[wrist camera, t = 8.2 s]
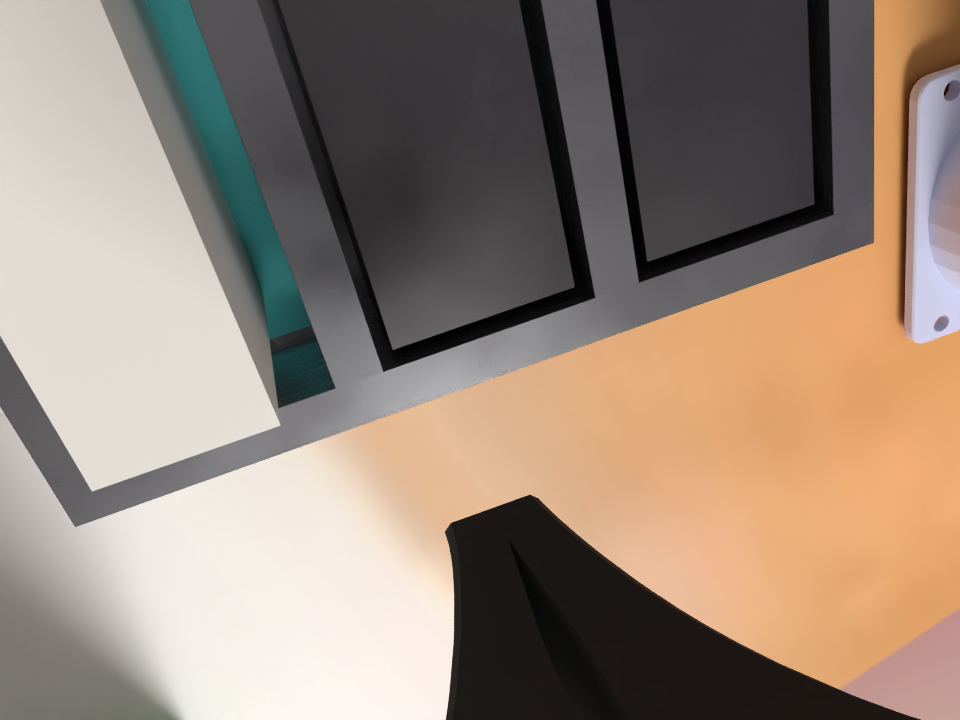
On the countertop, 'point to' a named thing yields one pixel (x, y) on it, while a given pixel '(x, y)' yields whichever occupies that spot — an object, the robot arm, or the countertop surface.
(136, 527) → the countertop surface
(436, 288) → the rack
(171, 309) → the block
